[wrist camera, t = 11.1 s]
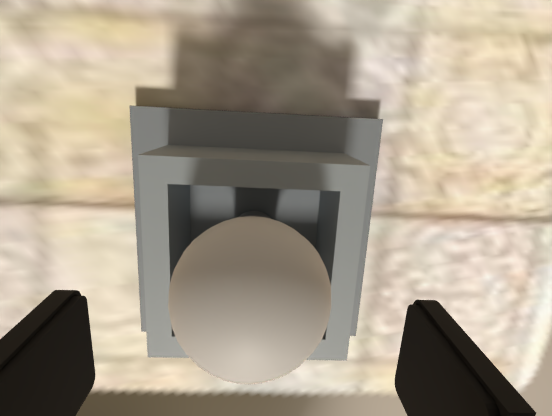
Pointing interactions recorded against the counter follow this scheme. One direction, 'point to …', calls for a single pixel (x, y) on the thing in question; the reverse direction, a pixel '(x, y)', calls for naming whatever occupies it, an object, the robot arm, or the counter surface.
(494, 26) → the counter surface
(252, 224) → the lightbulb
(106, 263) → the counter surface
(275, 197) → the socket holder
